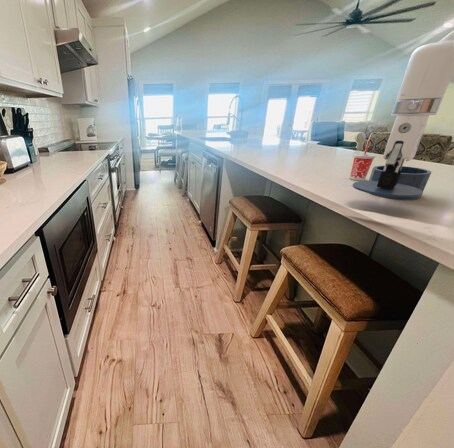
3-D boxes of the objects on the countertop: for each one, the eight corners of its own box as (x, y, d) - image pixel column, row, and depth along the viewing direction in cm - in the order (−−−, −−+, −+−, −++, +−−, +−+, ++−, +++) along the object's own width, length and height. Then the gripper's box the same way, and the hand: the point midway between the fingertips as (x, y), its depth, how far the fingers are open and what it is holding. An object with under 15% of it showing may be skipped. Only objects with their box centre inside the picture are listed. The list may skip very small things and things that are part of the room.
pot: (423, 193, 75) (433, 168, 71) (417, 202, 67) (428, 176, 64) (371, 185, 83) (378, 164, 80) (361, 193, 76) (368, 170, 73)
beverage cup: (343, 177, 95) (353, 140, 89) (358, 176, 95) (369, 139, 89) (356, 181, 89) (368, 141, 83) (371, 180, 89) (385, 141, 84)
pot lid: (424, 191, 62) (433, 169, 60) (417, 203, 55) (427, 179, 52) (359, 182, 72) (365, 163, 70) (345, 191, 64) (351, 170, 62)
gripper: (435, 108, 48) (400, 196, 55) (441, 107, 57) (410, 183, 65) (385, 110, 53) (359, 190, 61) (398, 108, 62) (374, 178, 70)
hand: (386, 186), depth 63 cm, fingers closed on pot lid, 2 cm apart
